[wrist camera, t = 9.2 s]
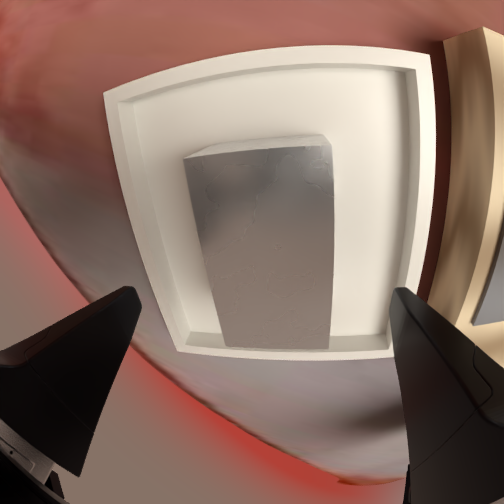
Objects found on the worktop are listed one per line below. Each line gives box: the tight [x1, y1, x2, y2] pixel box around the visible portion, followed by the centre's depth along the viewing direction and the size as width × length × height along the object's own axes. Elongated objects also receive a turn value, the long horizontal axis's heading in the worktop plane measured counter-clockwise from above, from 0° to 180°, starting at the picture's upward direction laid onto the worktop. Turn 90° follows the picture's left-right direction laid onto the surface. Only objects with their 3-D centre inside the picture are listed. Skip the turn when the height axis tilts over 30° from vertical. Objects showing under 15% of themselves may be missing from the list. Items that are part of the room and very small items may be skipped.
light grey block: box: [183, 135, 335, 349], centre depth 12 cm, size 9×5×4 cm, turn 7°
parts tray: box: [103, 45, 436, 360], centre depth 14 cm, size 17×15×2 cm
